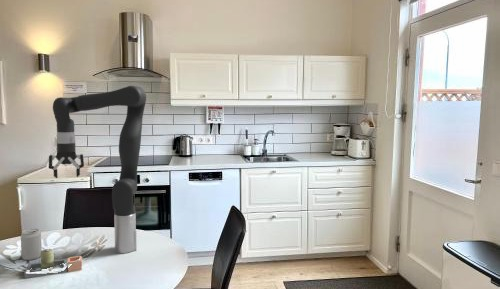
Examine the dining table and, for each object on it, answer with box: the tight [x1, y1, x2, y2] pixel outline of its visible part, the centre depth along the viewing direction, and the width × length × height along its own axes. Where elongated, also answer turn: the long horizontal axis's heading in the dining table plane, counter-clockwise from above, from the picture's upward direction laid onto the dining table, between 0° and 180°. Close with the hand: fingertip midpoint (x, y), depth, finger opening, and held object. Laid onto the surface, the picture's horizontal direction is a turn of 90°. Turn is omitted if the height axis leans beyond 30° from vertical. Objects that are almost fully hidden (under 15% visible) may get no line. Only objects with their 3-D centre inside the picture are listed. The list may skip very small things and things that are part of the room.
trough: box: [24, 258, 68, 279], centre depth 142 cm, size 14×9×2 cm, turn 114°
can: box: [20, 228, 43, 261], centre depth 153 cm, size 8×8×12 cm
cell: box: [40, 248, 55, 270], centre depth 141 cm, size 4×4×9 cm
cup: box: [67, 255, 83, 273], centre depth 144 cm, size 5×5×4 cm
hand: (67, 177), depth 162 cm, fingers open, 8 cm apart
